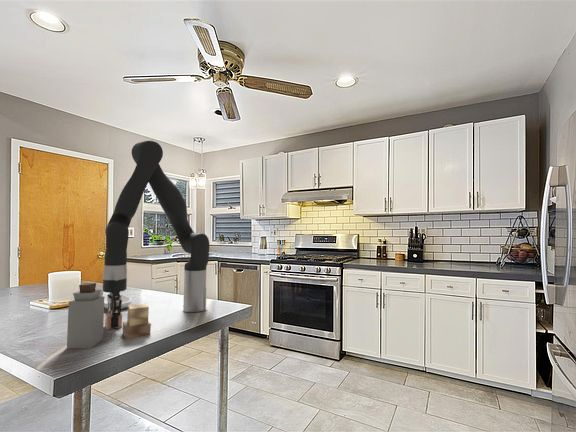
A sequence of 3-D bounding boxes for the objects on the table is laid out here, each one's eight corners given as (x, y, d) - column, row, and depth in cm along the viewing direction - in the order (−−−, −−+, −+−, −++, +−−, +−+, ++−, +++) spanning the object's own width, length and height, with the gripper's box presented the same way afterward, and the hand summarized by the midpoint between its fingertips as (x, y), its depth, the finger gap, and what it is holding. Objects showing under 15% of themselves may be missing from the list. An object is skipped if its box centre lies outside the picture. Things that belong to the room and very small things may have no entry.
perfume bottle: (80, 340, 97) (82, 282, 98) (102, 339, 98) (104, 282, 98) (66, 348, 90) (69, 286, 91) (91, 347, 91) (93, 286, 92)
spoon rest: (136, 308, 137) (137, 292, 137) (108, 314, 127) (109, 296, 127) (112, 300, 151) (112, 285, 151) (85, 305, 141) (85, 289, 142)
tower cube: (145, 319, 107) (145, 303, 107) (148, 323, 102) (148, 306, 103) (127, 322, 104) (127, 305, 104) (129, 326, 99) (130, 309, 100)
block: (119, 323, 114) (119, 311, 114) (121, 327, 110) (122, 314, 110) (105, 326, 111) (105, 313, 111) (107, 329, 107) (107, 316, 108)
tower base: (145, 330, 108) (145, 318, 108) (150, 336, 102) (150, 323, 102) (122, 334, 104) (123, 322, 104) (126, 340, 98) (127, 327, 98)
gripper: (100, 275, 115) (98, 322, 114) (106, 281, 103) (104, 333, 103) (122, 274, 119) (121, 319, 118) (130, 279, 108) (129, 328, 107)
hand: (113, 325), depth 110 cm, fingers closed on block, 4 cm apart
